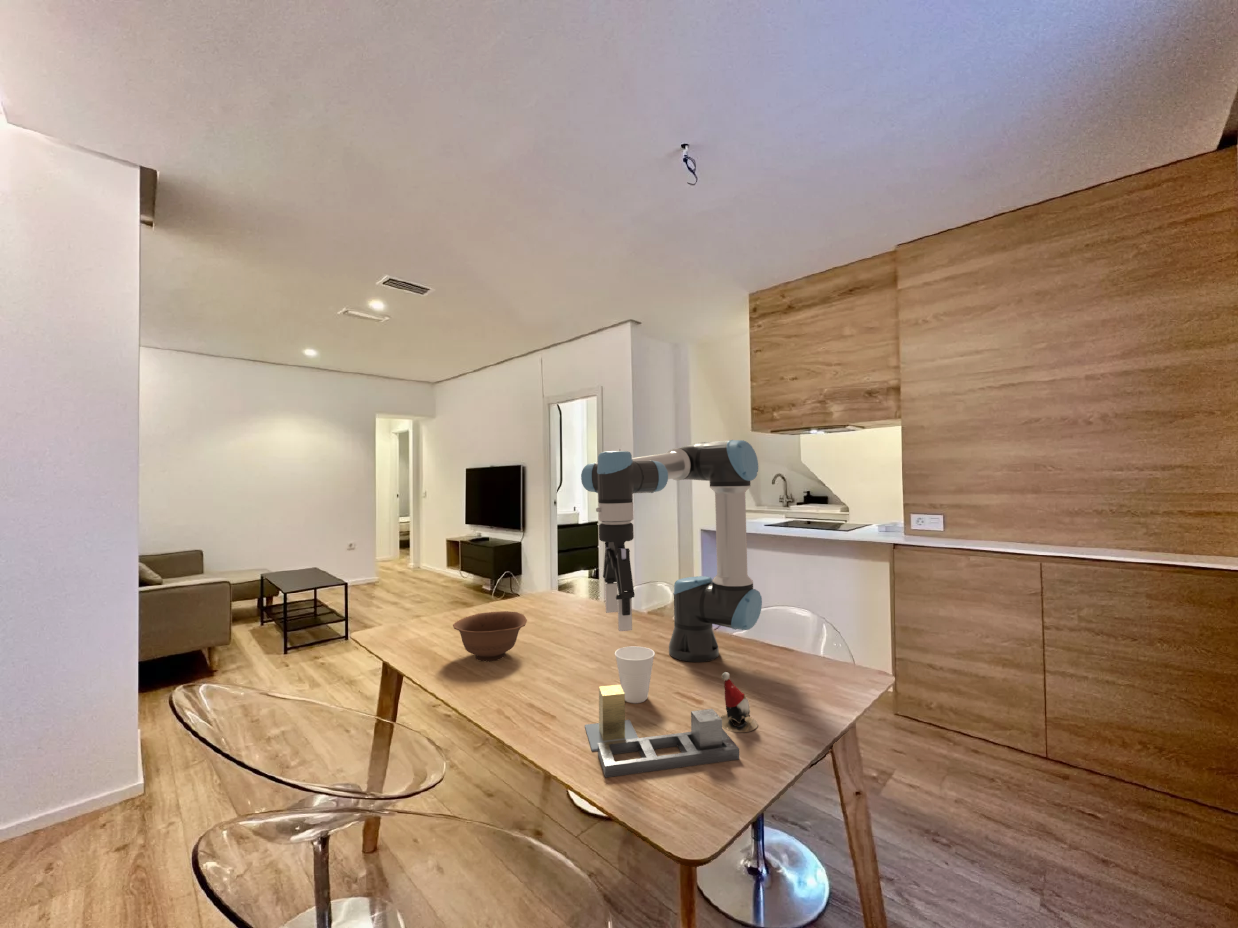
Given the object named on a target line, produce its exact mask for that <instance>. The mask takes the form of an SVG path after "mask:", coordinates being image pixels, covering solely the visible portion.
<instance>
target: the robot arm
mask: <svg viewBox="0 0 1238 928" xmlns="http://www.w3.org/2000/svg"><path fill="white" fill-rule="evenodd" d="M758 472H759V462H758V456H757V453H756V451H755V449H754V447H753V446H752V445H751V443H749V442H748V441H746V440H741V439H731V440H730V439H729V440H719V441H708V442H707V441H701V442H696V443H692V444H688V445H685V446H682V447H675V448H672V449H670V450H668V451H667V452H665V453H660V454H657V453H656V454H652V455H643V456H638V457H633V456H632V452H630V451H627V450H611V451H602V452H600V453H599V454H598V456H597V461H595V462H592V463H588V464H585V466H584V467H583V468H582V470H581V474H580V479H581V484H582V487H583V488H584V489H585V491H588V492H590V493H596V494H598V495H597V497H598V499H597V500H598V507H596V508H595V512H596V513H598V520H599V521H600V523H599V525H598V539H599V541H600V542H603V543H604V559H603V560H604V561H603V573H602V577H603V580H604V582H605V585H604V590H605V597H604V598H605V613H606V614H612V613H617V620H618V621H617V622H618V623H617V624H618V628H617V629H618V632H628V631H633V608H632V607H633V606H632V605H633V603H632V598H635V590H634V588H635V587H634V582H633V581H634V579H633V573H632V568H631V558H630V556H631V555H630V552H631V551H630V548H629V547H628V548H627V547H626V546H625V543H626V542H632V541H633V540H634V538H635V537H634V536H635V535H634V524H633V520H634V501H633V500H634V497H633V495H634V494H647V493H648V494H649V493H650V494H653V493H657V492H661V491H662V490H663V489H665V487H666V486H667V484H668V482H669V480H673V481H682V480H683V481H684V480H685V481H686V480H692V481H709V488H710V489H711V490H712V491H713V493H714V497H715V499H714V500H715V501H714V502H715V504H714V505H715V507H714V509H715V536H716V537H715V538H716V542H715V543H716V544H715V545H716V546H715V547H716V575H715V576H714V577H713V579H712V577H711V576H707V575H706V576H705V575H703V576H702V575H698V576H689V577H682V578H679V579H677V580H676V581H675V582H674V585H673V618H674V619H673V620H674V623H673V624H674V626H673V630H672V634H671V637H670V640H669V644H668V654H669V655H670V657H672V658H674V659H676V660H679V661H684V662H688V663H689V662H691V663H704V662H710V661H713V660H715V659H717V658H718V657H719V655H720V654H719V649H720V648H719V645H718V642H717V638H716V636H715V632H714V629H713V625H715V626H721V627H726V628H729V629H732V630H739V631H749V630H751V629H752V628H753V627H755V625H756V623H757V622H758V620H759V618H760V615H761V612H762V608H763V598H762V595H761V592H760V591H759V590H758V589H756V588H754V581H753V579H752V578H751V577H750V576H749V575H748V548H747V547H748V545H747V543H748V542H747V541H748V540H747V510H746V509H747V507H746V503H747V502H746V492H747V491H748V490H749V489H750V488H751V481H754V480H755V479H756V478H757V476H758Z"/></svg>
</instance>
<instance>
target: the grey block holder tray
mask: <svg viewBox="0 0 1238 928" xmlns="http://www.w3.org/2000/svg"><path fill="white" fill-rule="evenodd" d="M674 747H677V748H678V749H679V751H680V752H679V753H672V754H663V755H657V754H656V751H655V750H658V749H666V748H674ZM634 752H639V755H640V758H634V759H626V760H625V759H624V760H618V761H615V758H614V755H618V754H619V755H621V754H626V753H627V754H628V753H634ZM597 756H598V759H599V762H600V765H601V768H602V771H603V775H604V777H605V778H612V777H618V776H619V777H620V776H626V775H627V776H628V775H634V774H635V775H636V774H641V773H649V772H656V771H664V770H673V769H678V768H679V769H680V768H685V767H693V766H700V765H706V764H707V765H708V764H715V763H723V762H727V761H728V762H730V761H736V760H740V748H739V746H738V745H737V744H736V743H735V742H734V740H733V739H732V738H731V737H730V736H729V734H728V733H727V732H726V731H725V730H724V728H722V748H716V749H709V750H701V751H697V749H696V748H695V746H694V745H693V743H692V742H691V731H687V732H685V731H684V732H677V733H676V732H675V733H669V734H662V735H654V736H653V735H652V736H646V737H644V736H643V737H638V738H635V739H627V740H619V741H610V742H602V743H598V751H597Z"/></svg>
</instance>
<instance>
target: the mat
mask: <svg viewBox="0 0 1238 928" xmlns="http://www.w3.org/2000/svg"><path fill="white" fill-rule="evenodd" d="M584 729H585V733H586V737H587V739H588V744H589V746H590V749H591V752H598V743H602V742H610V741H619V740H627V739H635V738H639V736H638V734H637V732H636V730H635V728H634V726H633V724H632V722H631V720H630V719H625V738H622V739H614V740H606V741H603V739H602V737H601V734H600V731H599V722H598V723H597V722H596V723H588V724H587V723H586V724H584Z"/></svg>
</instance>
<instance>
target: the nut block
mask: <svg viewBox="0 0 1238 928" xmlns="http://www.w3.org/2000/svg"><path fill="white" fill-rule="evenodd" d="M625 702H626V701H625V693H624V691H623V689H622V688H621V684H612V685H602V686H598V723H599V731H600V734H601V737H602V739H603V741H606V740H614V739H622V738H625V720H626V715H625V714H626V712H625V711H626V708H625V707H626V703H625Z"/></svg>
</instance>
